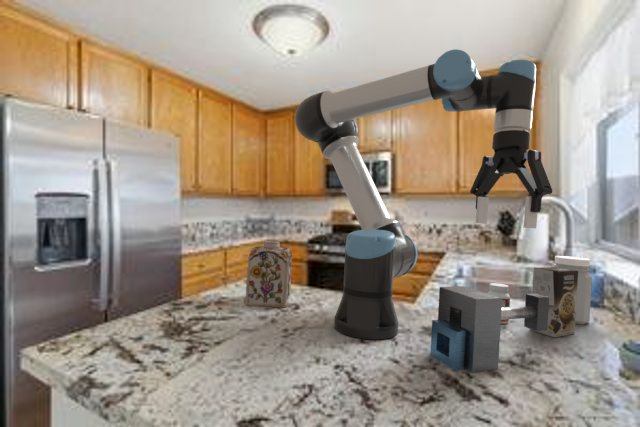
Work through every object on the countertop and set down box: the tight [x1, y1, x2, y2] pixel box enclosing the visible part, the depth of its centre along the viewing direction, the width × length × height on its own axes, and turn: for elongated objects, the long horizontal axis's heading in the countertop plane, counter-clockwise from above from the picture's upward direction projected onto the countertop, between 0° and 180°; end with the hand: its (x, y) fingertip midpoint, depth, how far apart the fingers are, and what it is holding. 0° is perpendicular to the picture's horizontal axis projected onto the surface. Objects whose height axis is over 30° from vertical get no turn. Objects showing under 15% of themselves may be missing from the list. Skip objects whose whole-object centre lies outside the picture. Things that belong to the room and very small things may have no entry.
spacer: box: [429, 319, 466, 372], centre depth 67 cm, size 2×7×7 cm, turn 19°
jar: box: [554, 255, 593, 325], centre depth 101 cm, size 10×10×18 cm
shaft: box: [501, 293, 549, 332], centre depth 72 cm, size 20×3×7 cm, turn 109°
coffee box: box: [529, 266, 578, 338], centre depth 89 cm, size 9×6×16 cm
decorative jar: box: [245, 240, 293, 308], centre depth 103 cm, size 12×12×18 cm
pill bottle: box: [486, 282, 511, 325], centre depth 96 cm, size 6×6×10 cm
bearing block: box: [437, 285, 502, 373], centre depth 68 cm, size 6×10×13 cm, turn 19°
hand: (503, 225), depth 80 cm, fingers open, 13 cm apart
